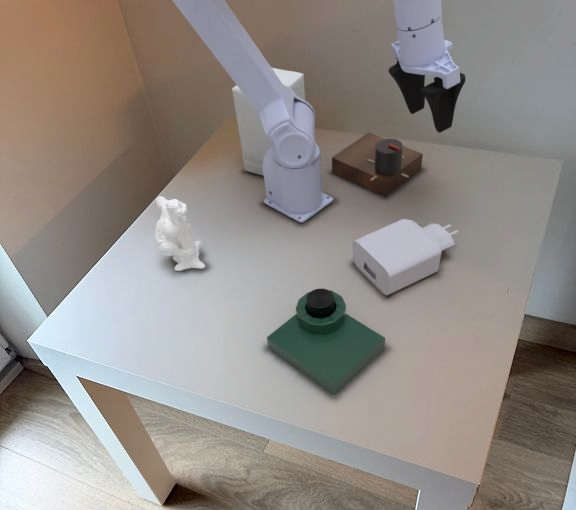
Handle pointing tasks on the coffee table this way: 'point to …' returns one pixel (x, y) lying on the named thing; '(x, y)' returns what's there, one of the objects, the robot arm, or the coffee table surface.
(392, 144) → the lock knob
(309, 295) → the black push button
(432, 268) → the charger
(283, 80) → the white product box
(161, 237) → the koala figurine
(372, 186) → the panel
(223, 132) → the coffee table surface
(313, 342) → the base
